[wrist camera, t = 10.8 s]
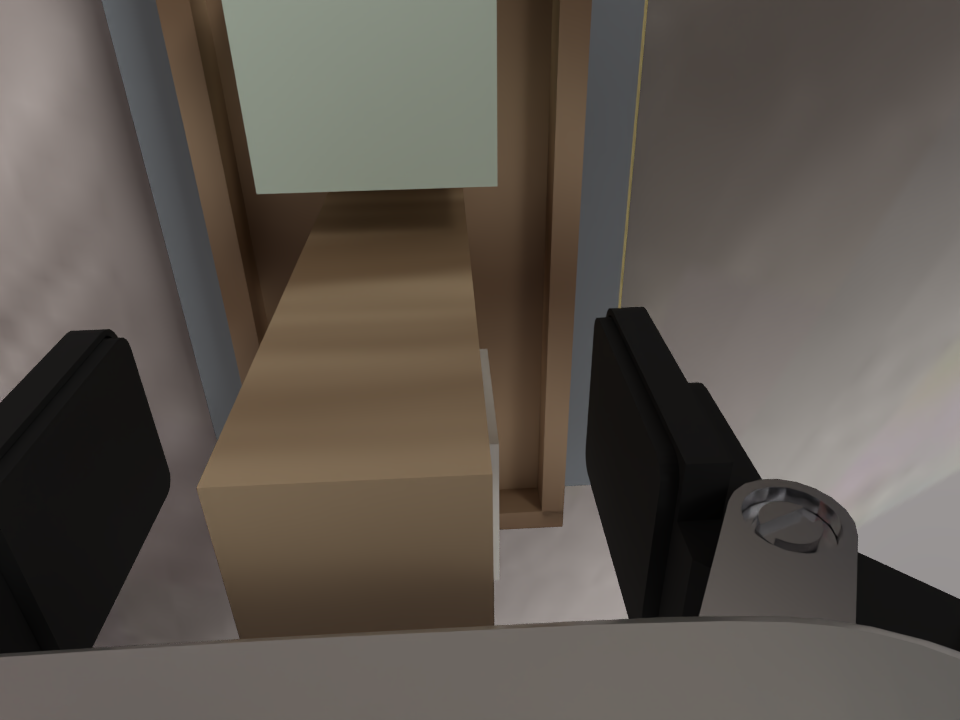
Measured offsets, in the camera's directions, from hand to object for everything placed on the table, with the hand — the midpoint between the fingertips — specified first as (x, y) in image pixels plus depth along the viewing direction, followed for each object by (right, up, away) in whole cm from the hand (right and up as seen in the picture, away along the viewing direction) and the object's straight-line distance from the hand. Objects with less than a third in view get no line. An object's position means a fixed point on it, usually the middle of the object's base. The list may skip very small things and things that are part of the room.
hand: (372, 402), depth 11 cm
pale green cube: (0, +7, +3) cm, 8 cm away
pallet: (0, +4, +7) cm, 8 cm away
